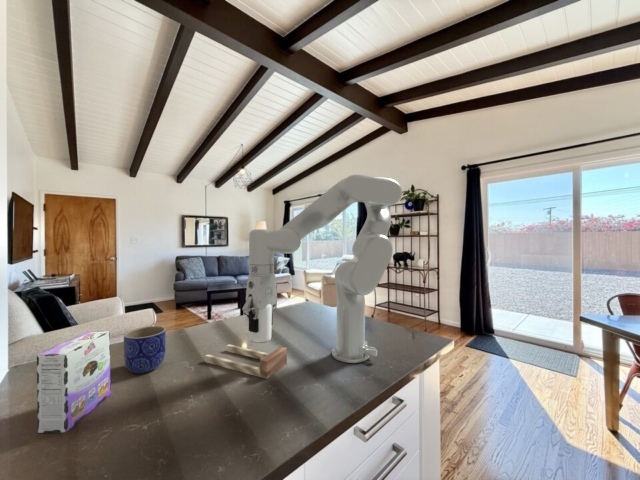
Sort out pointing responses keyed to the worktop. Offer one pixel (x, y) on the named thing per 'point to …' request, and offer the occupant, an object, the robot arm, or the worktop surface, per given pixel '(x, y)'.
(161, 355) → the planter
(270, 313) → the can
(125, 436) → the worktop surface
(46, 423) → the candy box
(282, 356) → the rail channel
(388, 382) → the worktop surface
